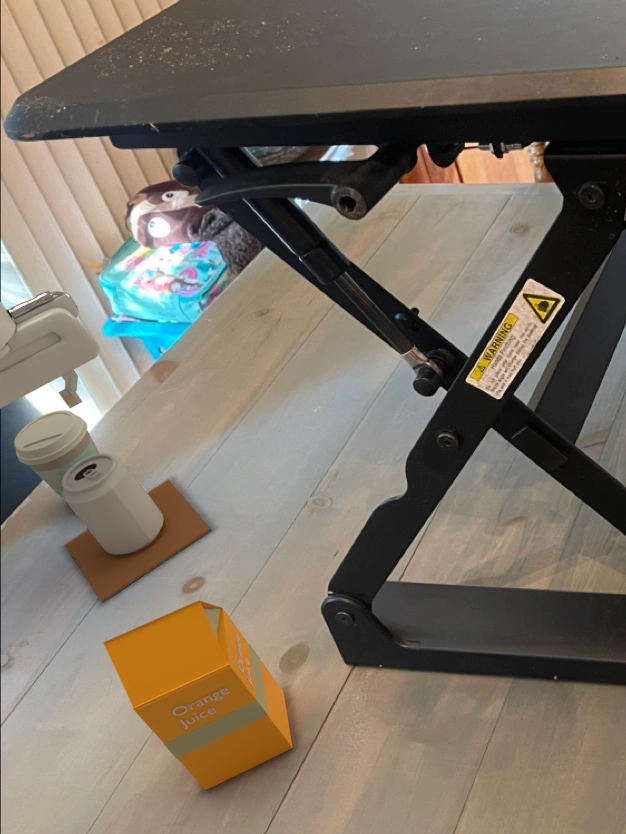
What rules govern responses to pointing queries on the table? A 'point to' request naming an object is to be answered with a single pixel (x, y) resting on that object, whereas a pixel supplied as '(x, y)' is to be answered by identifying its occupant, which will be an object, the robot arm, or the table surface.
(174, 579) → the table surface
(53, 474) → the coffee cup
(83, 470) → the can
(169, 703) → the orange juice
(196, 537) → the mat
